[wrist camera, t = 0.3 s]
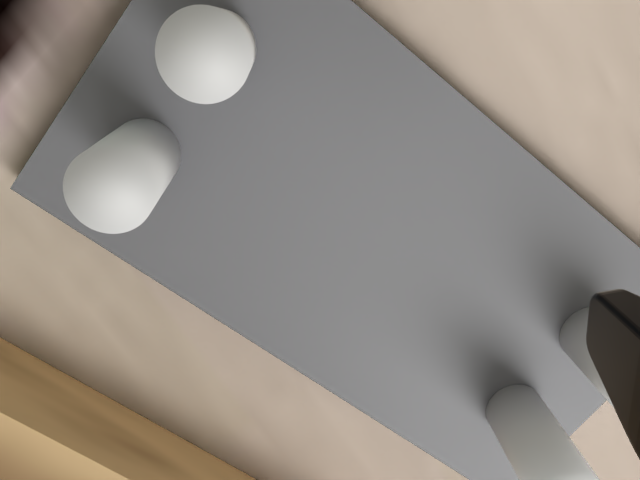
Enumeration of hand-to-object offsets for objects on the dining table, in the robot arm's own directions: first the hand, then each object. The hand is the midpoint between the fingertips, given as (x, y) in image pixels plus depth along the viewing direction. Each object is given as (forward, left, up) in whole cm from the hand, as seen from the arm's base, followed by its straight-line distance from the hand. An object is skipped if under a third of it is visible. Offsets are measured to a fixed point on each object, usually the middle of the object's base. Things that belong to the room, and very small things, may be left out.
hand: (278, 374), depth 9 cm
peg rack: (0, -5, -15) cm, 16 cm away
